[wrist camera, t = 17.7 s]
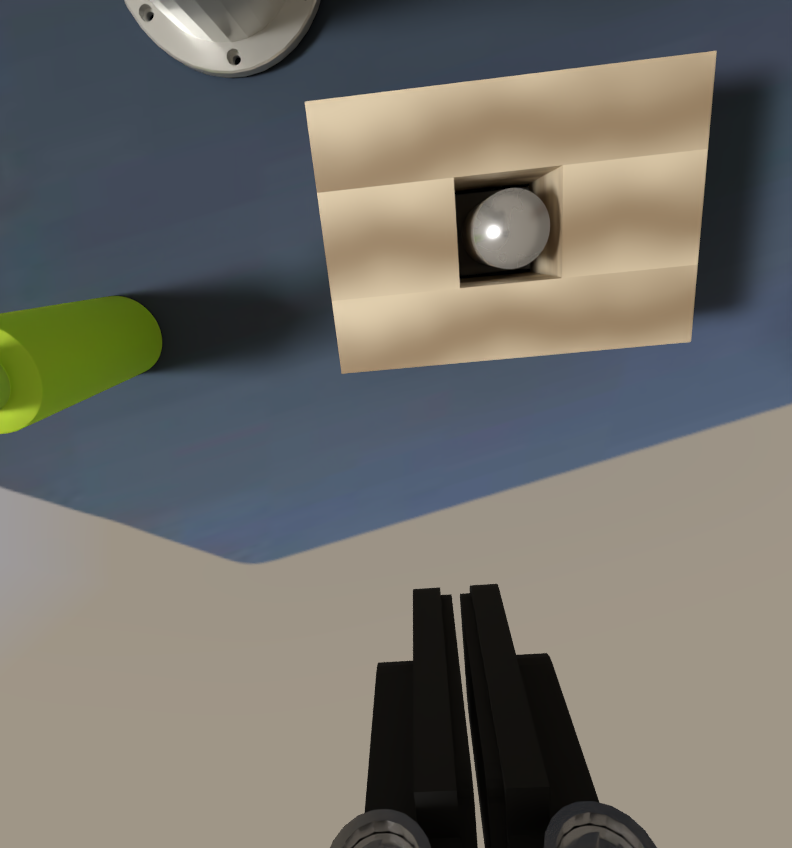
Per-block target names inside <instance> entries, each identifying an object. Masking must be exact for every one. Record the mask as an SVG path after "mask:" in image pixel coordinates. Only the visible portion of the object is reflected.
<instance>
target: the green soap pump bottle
mask: <svg viewBox="0 0 792 848" xmlns="http://www.w3.org/2000/svg"><path fill="white" fill-rule="evenodd" d="M161 350H162V335H161V331H160V328H159V326H158V323H157V321H156V320H155V318H154V317H153V315H152V314H151V313H150V312H149V311H148V310H147V309H146V308H145V307H144V306H143V305H141V304H140V303H138V302H136V301H134V300H132V299H130V298H127V297H122V296H109V297H102V298H96V299H90V300H83V301H77V302H71V303H64V304H58V305H52V306H46V307H39V308H33V309H27V310H20V311H14V312H8V313H2V314H0V434H5V433H11V432H15V431H18V430H20V429H22V428H24V427H27V426H29V425H31V424H33V423H35V422H37V421H40V420H42V419H44V418H46V417H48V416H50V415H53V414H55V413H57V412H59V411H61V410H63V409H65V408H68V407H70V406H72V405H74V404H76V403H78V402H81V401H83V400H85V399H87V398H89V397H91V396H94V395H96V394H98V393H100V392H102V391H104V390H107V389H109V388H111V387H113V386H115V385H117V384H120V383H122V382H124V381H126V380H128V379H130V378H133V377H135V376H137V375H139V374H141V373H143V372H145V371H147V370H149V369H150V368H151V367H152V366H153V365H154V364H155V363H156V362H157V360H158V358H159V356H160V353H161Z"/></svg>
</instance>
